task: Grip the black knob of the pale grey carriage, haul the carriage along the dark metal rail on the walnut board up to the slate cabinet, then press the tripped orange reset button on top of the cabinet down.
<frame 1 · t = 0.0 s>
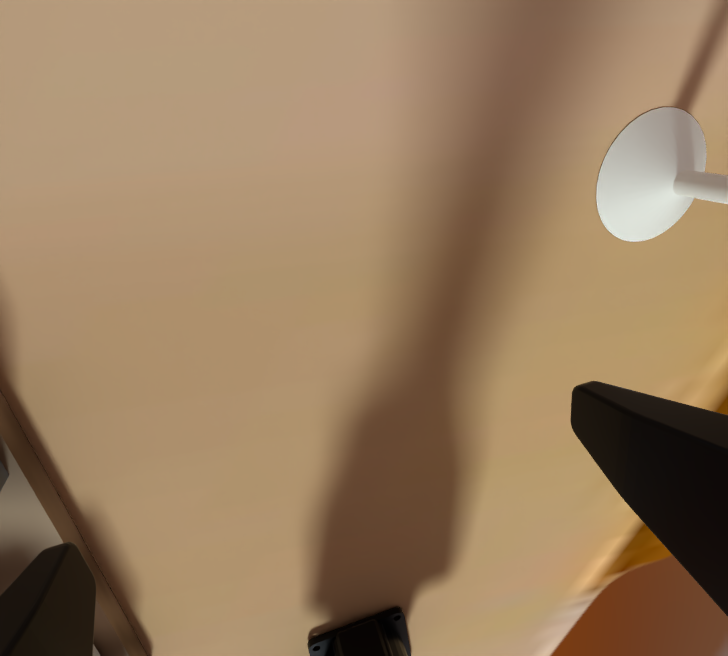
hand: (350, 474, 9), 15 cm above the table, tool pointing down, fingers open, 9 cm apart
champagne flute: (649, 177, 26), on the table
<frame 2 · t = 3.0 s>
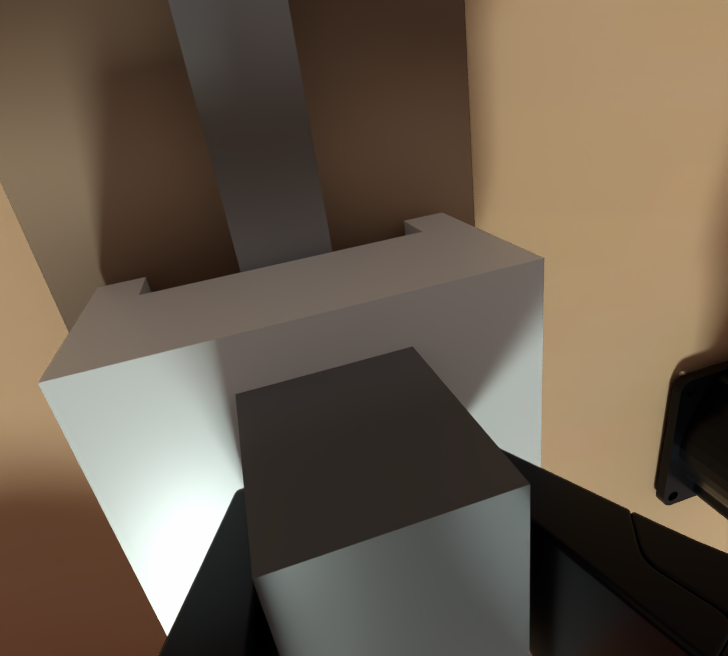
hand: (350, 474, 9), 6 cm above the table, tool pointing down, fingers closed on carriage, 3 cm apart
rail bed: (227, 32, 11), on the table
carriage: (341, 451, 9), point 6 cm above the table, slide at 0.0 cm, touching gripper
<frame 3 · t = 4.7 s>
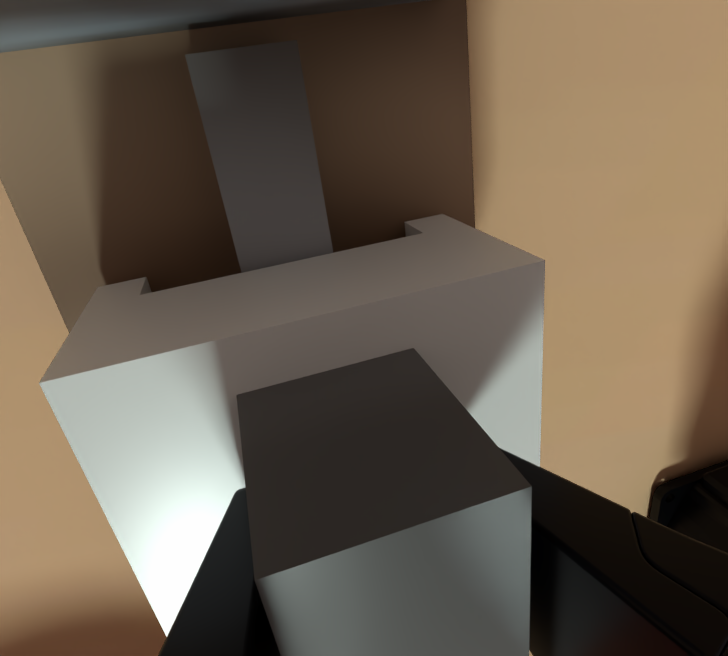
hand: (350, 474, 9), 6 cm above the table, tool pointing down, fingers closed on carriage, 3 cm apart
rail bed: (281, 268, 13), on the table
carriage: (342, 452, 9), point 6 cm above the table, slide at 5.5 cm, touching gripper
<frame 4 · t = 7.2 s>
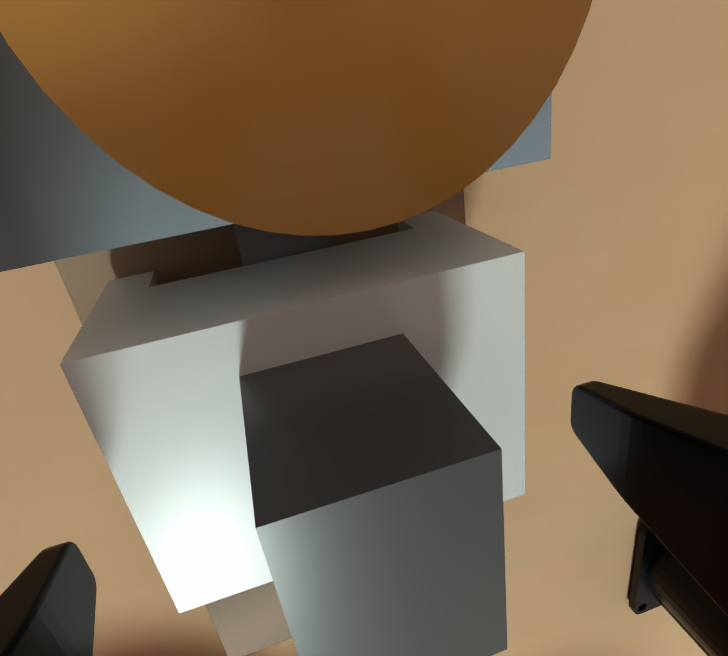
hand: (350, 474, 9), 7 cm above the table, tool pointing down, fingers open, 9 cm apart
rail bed: (301, 351, 15), on the table
carriage: (337, 432, 10), point 6 cm above the table, slide at 8.4 cm
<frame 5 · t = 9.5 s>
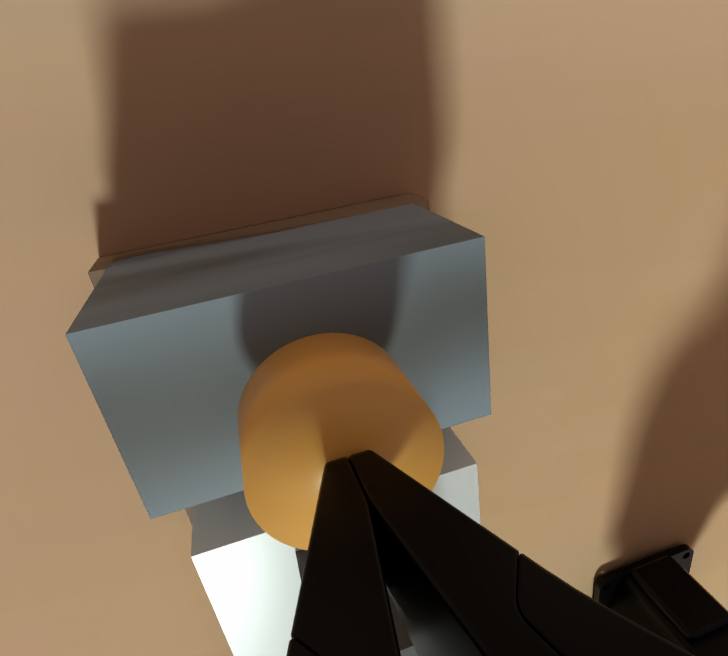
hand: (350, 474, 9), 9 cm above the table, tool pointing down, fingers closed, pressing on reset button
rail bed: (323, 473, 20), on the table
reset button: (336, 439, 10), point 8 cm above the table, slide at 1.0 cm, touching gripper
carriage: (355, 571, 15), point 6 cm above the table, slide at 8.4 cm
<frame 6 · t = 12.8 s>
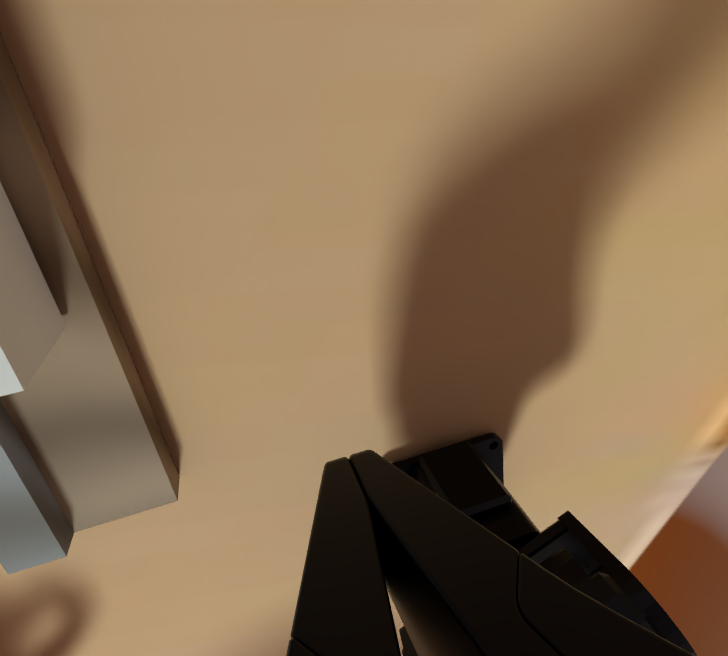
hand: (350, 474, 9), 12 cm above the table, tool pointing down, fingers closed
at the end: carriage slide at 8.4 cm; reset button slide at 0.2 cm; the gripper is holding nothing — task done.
